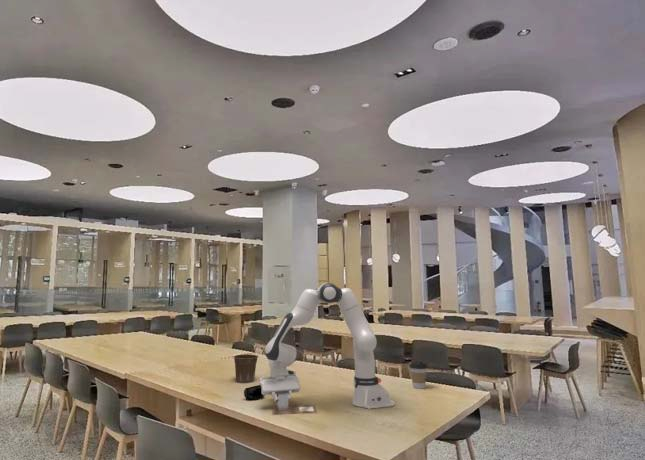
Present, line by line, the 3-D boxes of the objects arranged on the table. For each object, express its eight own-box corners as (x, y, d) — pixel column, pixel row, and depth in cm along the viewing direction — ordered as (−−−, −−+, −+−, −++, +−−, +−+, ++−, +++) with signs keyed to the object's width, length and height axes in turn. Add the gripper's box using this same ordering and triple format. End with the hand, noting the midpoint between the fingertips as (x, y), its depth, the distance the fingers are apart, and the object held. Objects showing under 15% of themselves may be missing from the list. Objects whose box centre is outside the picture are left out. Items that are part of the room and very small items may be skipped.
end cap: (257, 396, 233) (257, 383, 234) (265, 398, 228) (265, 385, 229) (243, 399, 226) (243, 387, 227) (251, 402, 221) (251, 389, 222)
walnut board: (314, 407, 210) (314, 392, 211) (317, 416, 196) (317, 400, 198) (272, 409, 208) (272, 394, 209) (272, 418, 194) (272, 401, 195)
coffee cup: (429, 390, 243) (428, 364, 245) (410, 389, 246) (409, 364, 248) (428, 385, 254) (427, 361, 257) (409, 385, 257) (409, 360, 259)
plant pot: (260, 378, 276) (260, 354, 279) (254, 384, 261) (254, 358, 263) (237, 378, 278) (237, 354, 280) (229, 383, 262) (230, 358, 264)
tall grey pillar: (286, 407, 206) (286, 392, 207) (288, 410, 201) (288, 394, 202) (276, 408, 204) (276, 392, 205) (278, 411, 199) (278, 395, 200)
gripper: (260, 374, 208) (262, 398, 198) (298, 371, 214) (303, 395, 204) (258, 381, 212) (261, 405, 201) (296, 378, 218) (300, 402, 207)
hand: (282, 400), depth 202 cm, fingers closed on tall grey pillar, 5 cm apart
